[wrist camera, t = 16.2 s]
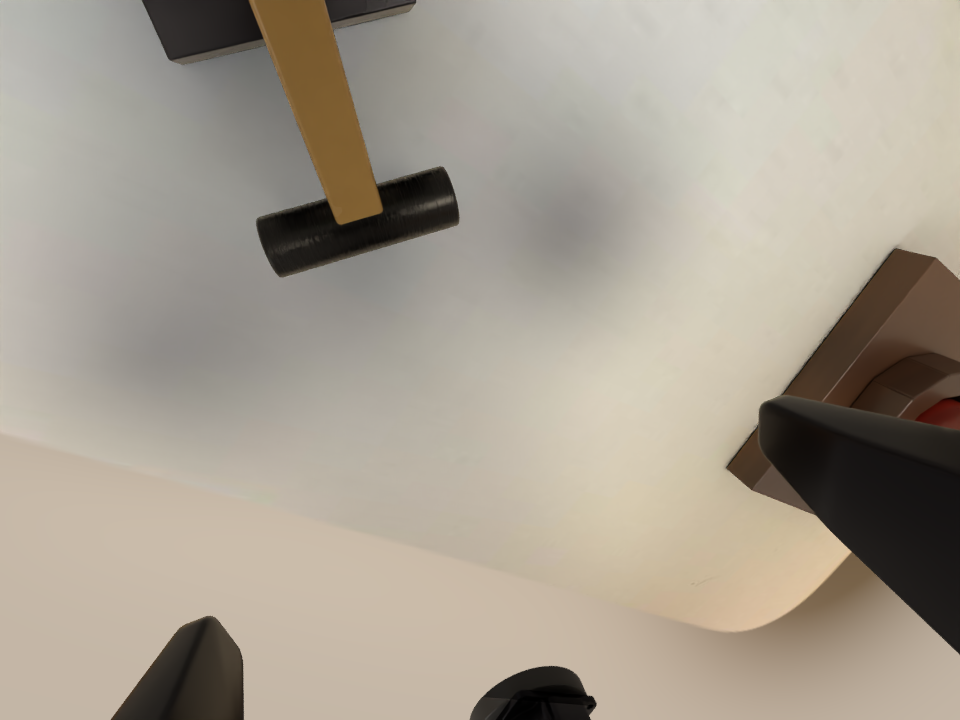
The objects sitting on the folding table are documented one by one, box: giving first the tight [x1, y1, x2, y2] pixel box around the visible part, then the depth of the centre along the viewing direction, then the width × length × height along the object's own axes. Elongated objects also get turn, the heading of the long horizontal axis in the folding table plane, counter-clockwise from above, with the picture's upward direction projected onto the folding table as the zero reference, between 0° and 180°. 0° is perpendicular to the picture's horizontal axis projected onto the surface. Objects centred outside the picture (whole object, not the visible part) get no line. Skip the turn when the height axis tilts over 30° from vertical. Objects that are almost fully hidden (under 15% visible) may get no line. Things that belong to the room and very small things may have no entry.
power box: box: [727, 249, 960, 515], centre depth 24 cm, size 12×10×4 cm
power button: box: [915, 399, 960, 430], centre depth 22 cm, size 4×4×2 cm
